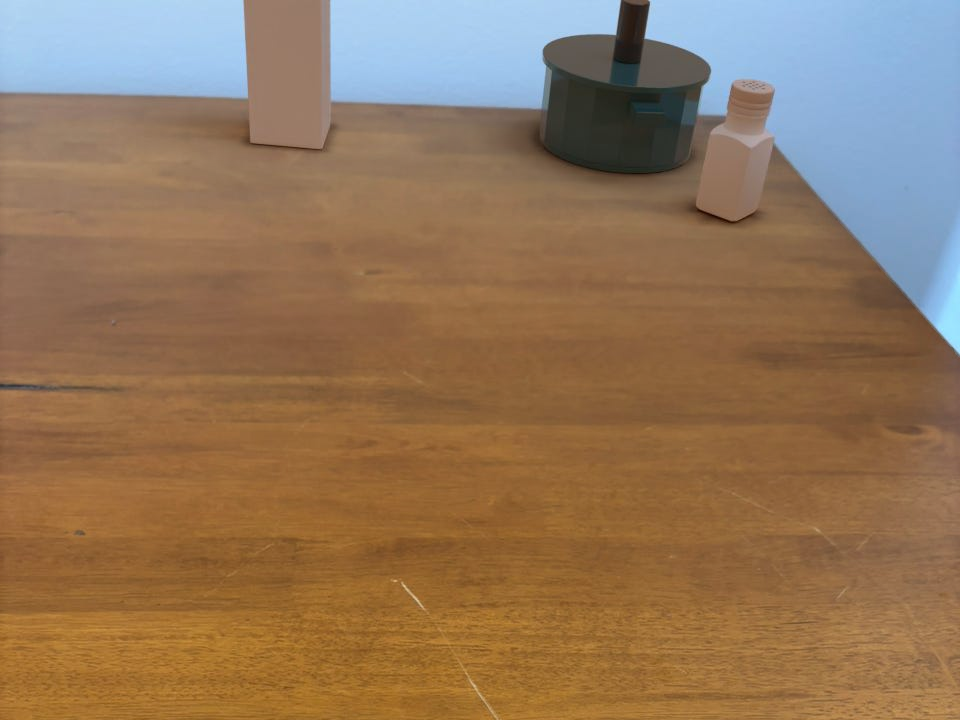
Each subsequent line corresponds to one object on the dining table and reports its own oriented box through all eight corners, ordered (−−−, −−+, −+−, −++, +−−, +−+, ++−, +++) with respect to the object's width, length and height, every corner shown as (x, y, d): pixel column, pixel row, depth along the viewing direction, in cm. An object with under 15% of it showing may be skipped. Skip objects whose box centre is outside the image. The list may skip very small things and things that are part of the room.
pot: (661, 111, 111) (674, 36, 107) (716, 188, 98) (733, 106, 94) (523, 105, 109) (531, 29, 105) (560, 184, 96) (571, 100, 92)
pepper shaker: (691, 209, 94) (716, 83, 88) (717, 197, 96) (744, 73, 90) (734, 225, 92) (763, 98, 86) (760, 212, 95) (790, 87, 88)
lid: (683, 51, 106) (696, -19, 102) (729, 105, 96) (745, 29, 92) (528, 44, 104) (535, -28, 100) (557, 98, 93) (566, 21, 90)
